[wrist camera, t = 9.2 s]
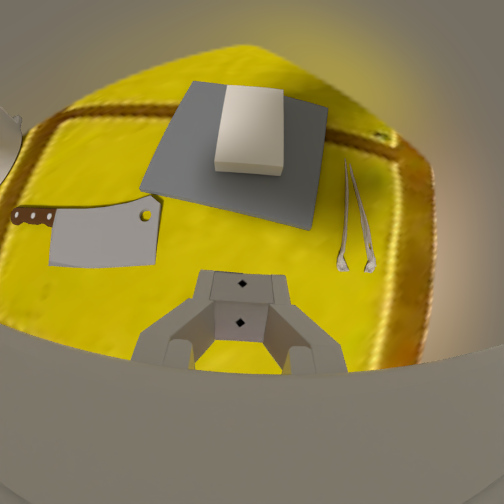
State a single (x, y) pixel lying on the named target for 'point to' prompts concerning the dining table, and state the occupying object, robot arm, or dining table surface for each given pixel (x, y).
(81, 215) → the kitchen cleaver
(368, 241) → the tweezers
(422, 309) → the dining table surface
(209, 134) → the mat
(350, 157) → the dining table surface
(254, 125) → the tile
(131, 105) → the dining table surface
